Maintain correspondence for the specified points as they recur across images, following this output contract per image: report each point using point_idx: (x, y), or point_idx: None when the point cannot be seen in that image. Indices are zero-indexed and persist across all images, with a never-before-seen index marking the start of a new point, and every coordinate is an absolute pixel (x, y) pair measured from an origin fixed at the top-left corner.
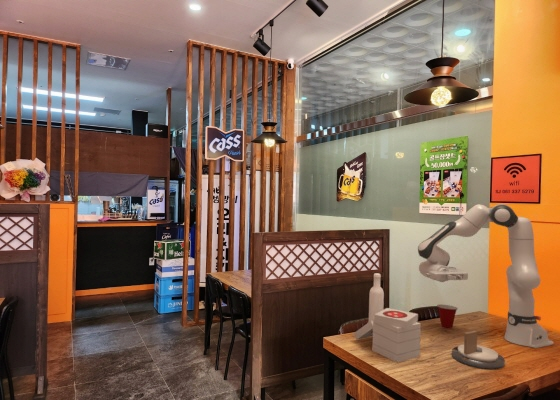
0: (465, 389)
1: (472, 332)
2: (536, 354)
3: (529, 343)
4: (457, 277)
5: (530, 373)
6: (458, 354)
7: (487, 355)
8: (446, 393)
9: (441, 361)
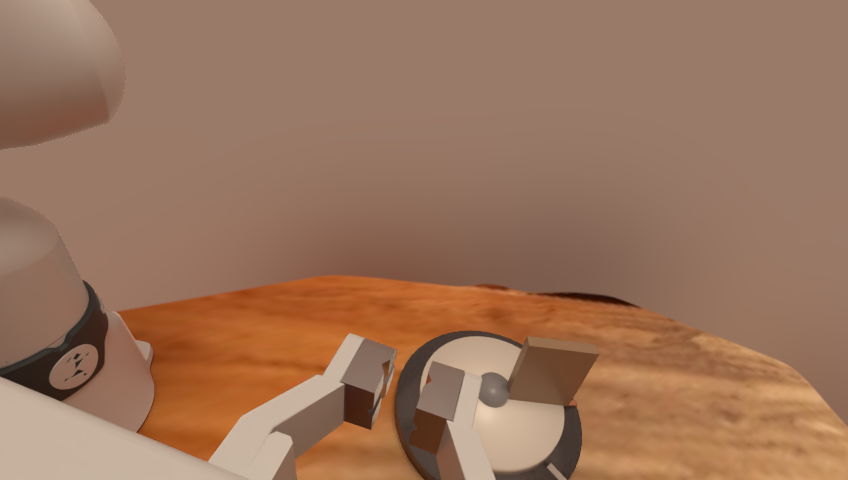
0: (669, 335)
1: (557, 341)
2: (236, 328)
3: (144, 358)
4: (433, 362)
5: (425, 294)
6: (562, 443)
7: (494, 355)
8: (730, 347)
9: (645, 473)
